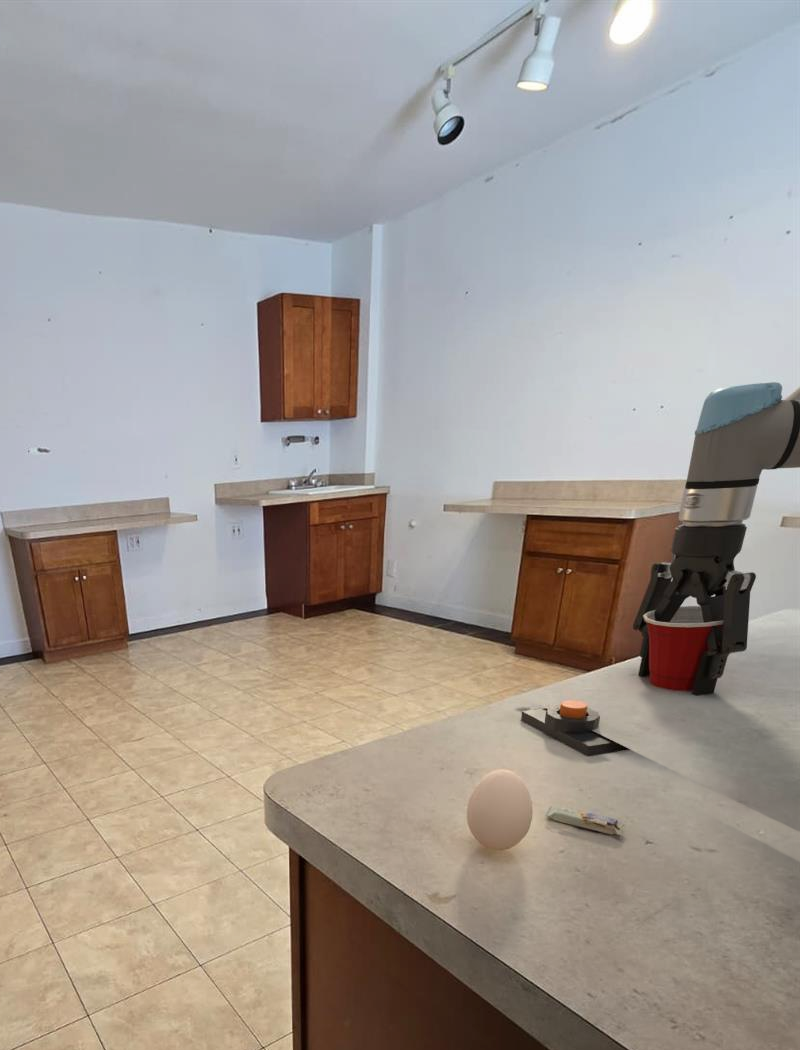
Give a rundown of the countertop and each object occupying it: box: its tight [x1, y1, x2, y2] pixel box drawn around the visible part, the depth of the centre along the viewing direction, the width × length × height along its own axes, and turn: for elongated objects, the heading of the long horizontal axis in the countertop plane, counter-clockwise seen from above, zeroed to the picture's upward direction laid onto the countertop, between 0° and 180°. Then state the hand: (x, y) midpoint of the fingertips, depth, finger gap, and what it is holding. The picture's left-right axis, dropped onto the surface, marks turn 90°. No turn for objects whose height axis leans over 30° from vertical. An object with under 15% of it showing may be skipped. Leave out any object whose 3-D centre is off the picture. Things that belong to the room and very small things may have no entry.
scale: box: [520, 705, 632, 757], centre depth 82 cm, size 18×13×3 cm
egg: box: [466, 768, 534, 852], centre depth 58 cm, size 6×6×8 cm
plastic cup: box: [643, 605, 724, 692], centre depth 90 cm, size 11×11×12 cm
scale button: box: [559, 700, 589, 718], centre depth 80 cm, size 3×3×2 cm
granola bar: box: [545, 805, 626, 836], centre depth 62 cm, size 7×2×1 cm, turn 50°
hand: (672, 689), depth 92 cm, fingers closed on plastic cup, 9 cm apart
